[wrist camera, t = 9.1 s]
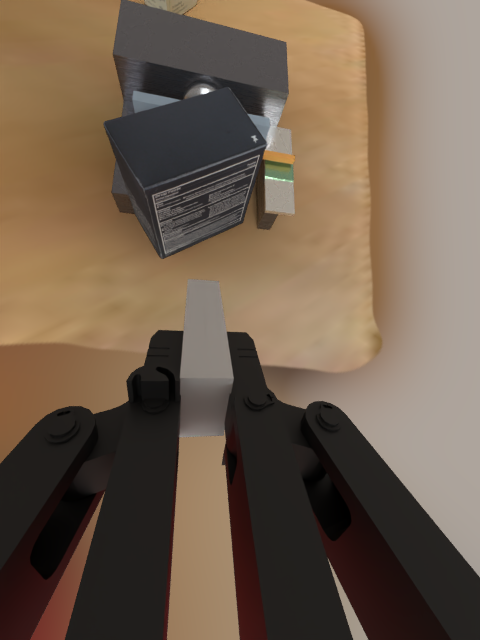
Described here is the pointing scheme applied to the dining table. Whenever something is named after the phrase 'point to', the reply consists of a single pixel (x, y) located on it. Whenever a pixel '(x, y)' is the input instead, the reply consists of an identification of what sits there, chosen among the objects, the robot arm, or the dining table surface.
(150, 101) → the blue-grey flat panel
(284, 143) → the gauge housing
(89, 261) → the dining table surface
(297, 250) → the dining table surface
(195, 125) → the small box
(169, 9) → the skincare box
